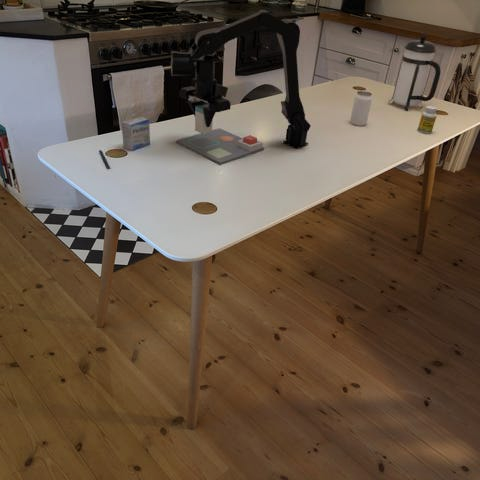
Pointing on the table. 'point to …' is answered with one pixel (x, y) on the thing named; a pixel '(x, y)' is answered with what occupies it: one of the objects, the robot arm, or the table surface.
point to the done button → (250, 139)
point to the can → (361, 108)
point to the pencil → (104, 160)
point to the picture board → (220, 146)
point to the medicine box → (136, 133)
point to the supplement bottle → (427, 120)
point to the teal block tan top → (201, 120)
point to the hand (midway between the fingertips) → (203, 125)
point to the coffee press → (415, 74)
